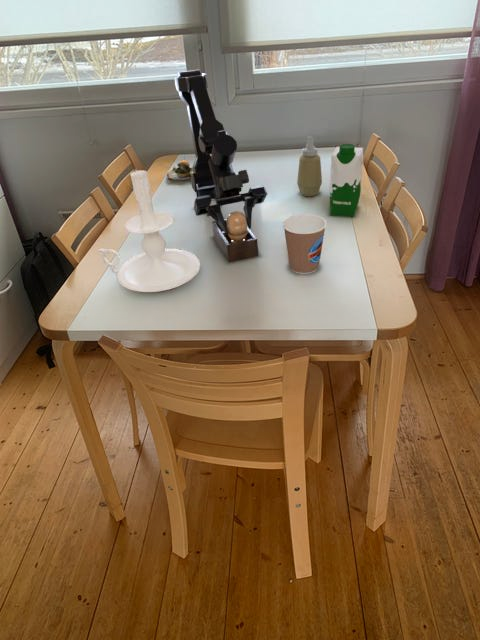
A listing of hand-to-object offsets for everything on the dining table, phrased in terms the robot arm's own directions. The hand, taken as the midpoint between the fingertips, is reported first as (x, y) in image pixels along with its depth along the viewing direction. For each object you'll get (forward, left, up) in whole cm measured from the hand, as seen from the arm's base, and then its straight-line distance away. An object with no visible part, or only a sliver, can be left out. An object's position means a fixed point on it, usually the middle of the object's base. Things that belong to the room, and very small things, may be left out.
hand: (238, 230), depth 121 cm
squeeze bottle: (+2, +45, -7) cm, 46 cm away
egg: (-1, +1, -4) cm, 4 cm away
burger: (-48, +45, -7) cm, 66 cm away
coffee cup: (+18, 0, -7) cm, 19 cm away
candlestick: (-15, -19, -7) cm, 25 cm away
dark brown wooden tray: (-4, +4, -7) cm, 9 cm away
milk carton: (+17, +35, -7) cm, 40 cm away
